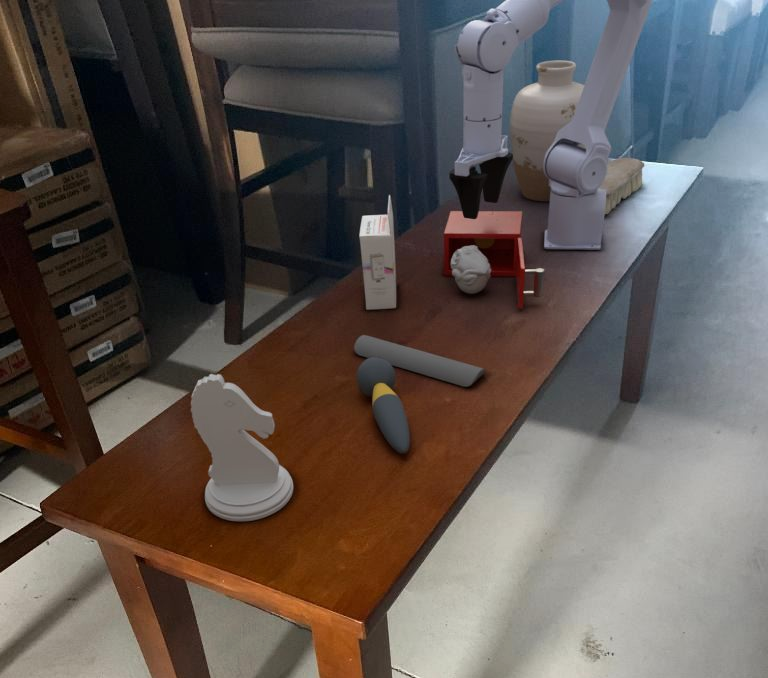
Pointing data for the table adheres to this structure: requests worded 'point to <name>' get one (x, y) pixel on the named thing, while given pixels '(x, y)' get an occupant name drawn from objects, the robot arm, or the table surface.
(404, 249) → the table surface
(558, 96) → the vase
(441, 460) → the table surface
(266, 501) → the chess piece
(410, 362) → the gray half cylinder
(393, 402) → the wand massager
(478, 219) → the cabinet
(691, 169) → the table surface
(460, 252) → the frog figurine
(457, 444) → the table surface
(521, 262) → the red cabinet door
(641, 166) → the shoe brush
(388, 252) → the ink cartridge box
